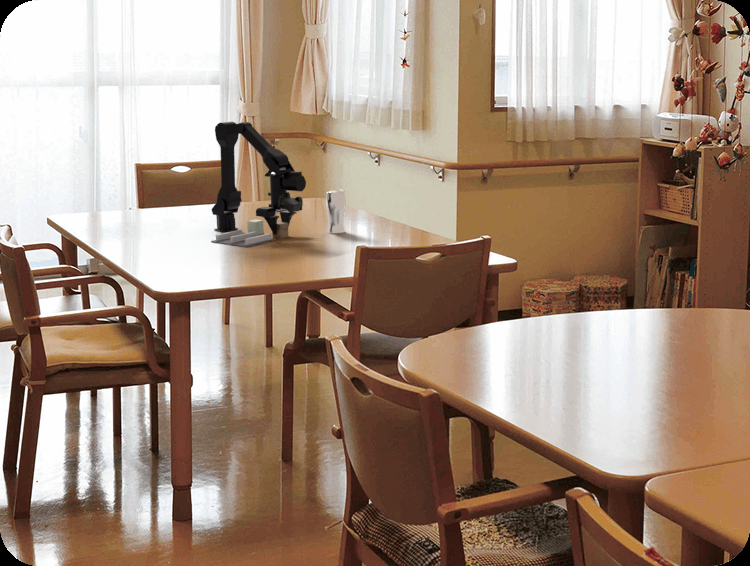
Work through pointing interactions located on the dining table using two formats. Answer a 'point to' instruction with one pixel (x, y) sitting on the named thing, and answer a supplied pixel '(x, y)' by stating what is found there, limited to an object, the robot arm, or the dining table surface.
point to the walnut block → (281, 230)
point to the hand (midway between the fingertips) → (280, 233)
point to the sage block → (255, 226)
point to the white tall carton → (335, 210)
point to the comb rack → (242, 238)
